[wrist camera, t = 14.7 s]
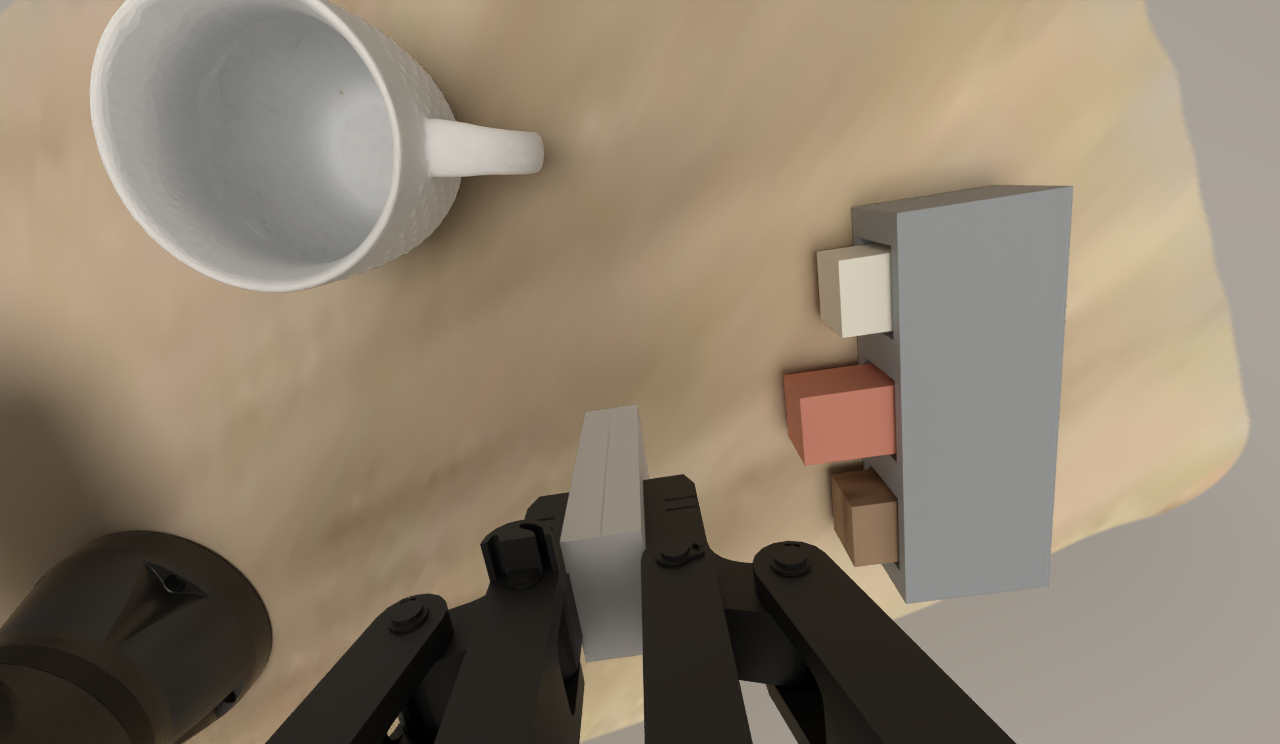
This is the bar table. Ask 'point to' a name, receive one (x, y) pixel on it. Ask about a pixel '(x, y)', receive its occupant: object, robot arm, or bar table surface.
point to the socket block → (972, 383)
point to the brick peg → (841, 413)
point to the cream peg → (856, 289)
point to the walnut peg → (865, 517)
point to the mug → (281, 139)
